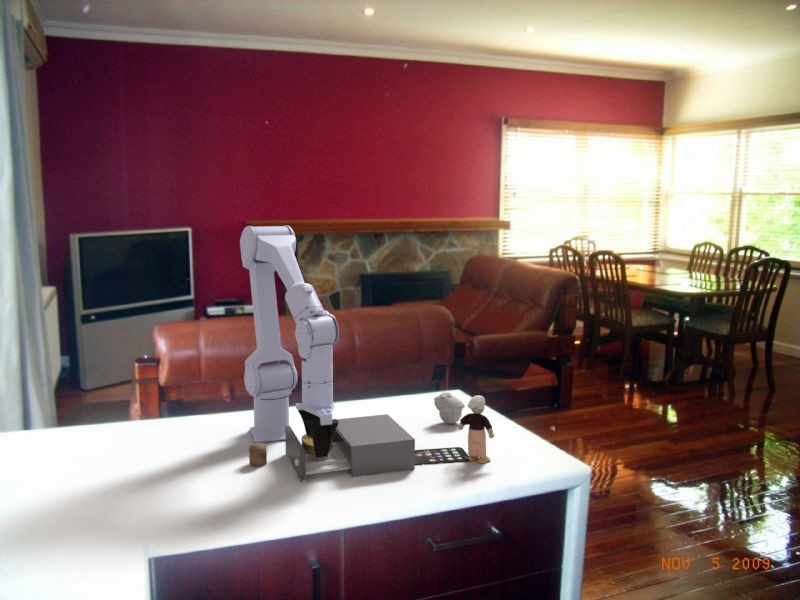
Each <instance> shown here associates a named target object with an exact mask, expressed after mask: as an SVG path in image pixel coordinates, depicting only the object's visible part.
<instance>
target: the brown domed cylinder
mask: <svg viewBox="0 0 800 600" xmlns="http://www.w3.org/2000/svg"><path fill="white" fill-rule="evenodd" d="M267 448H268V447H267V444H266V443H265V442H260V443H256V442H254V443H251V444H249V447H248V451H249V453H248V455H249V456H248V457H249V466H250V467H255V468H257V467H258V468H260V467H264V466H266V465H267V464H268V456H267V452H268V450H267Z"/></svg>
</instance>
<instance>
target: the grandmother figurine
mask: <svg viewBox="0 0 800 600" xmlns="http://www.w3.org/2000/svg"><path fill="white" fill-rule="evenodd" d="M485 404H486V399H485V398H484V396H482V395H479V394H478V395H473V396H472V397H471V399H470V400H469V401H468V403H467V408H468V409H470V410H471V412H472V413H471V412H470V413H468V414H465V415H464V416H463V417H461V418H460V419H459V425H458V427H457V429H458V430H459V431H462V430H464V427H465V426H468V425H469V426H468V434H467V452H468V453H467V454H468V458H467V459H470V461H469V462H475V461H476V462H477V463H478V464H486V463H490V462H491V458H490V457H489V456H488V455H487V436H486V435H487V434H488V438H490V439H494V438H495V434H494V430H493V425H492V424H491V422H490V420H489V419H488V416H485V415H483V414H482V413H483V412H484V411H485V407H486V405H485ZM486 432H487V434H486Z"/></svg>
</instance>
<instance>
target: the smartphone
mask: <svg viewBox="0 0 800 600" xmlns="http://www.w3.org/2000/svg"><path fill="white" fill-rule="evenodd" d="M468 456H469V454H468V453H467V452H466V450H465V449H464V448H463V447H460V446H459V447H458V446H457V447H456V446H453V447H441V448H440V447H438V448H425V449H415V466H423V465H422V464H428V465H439V464H438V463H443V464H454V462H458V463H469V462H471V461H470V459H467V458H468Z"/></svg>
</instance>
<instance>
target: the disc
mask: <svg viewBox="0 0 800 600" xmlns="http://www.w3.org/2000/svg"><path fill="white" fill-rule="evenodd" d="M301 445H302V446H303V448H304V450H305V452H306V454H311V455H315V451H314V445H313V438H312V434H311V433H308V434H306V433H305V434H303V435H302V436H301ZM331 450H332V439H331V444H330V449H329V452H330V451H331Z"/></svg>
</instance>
